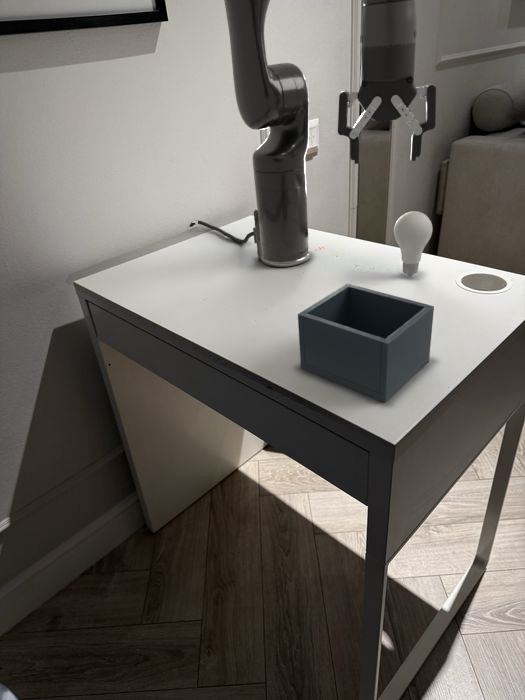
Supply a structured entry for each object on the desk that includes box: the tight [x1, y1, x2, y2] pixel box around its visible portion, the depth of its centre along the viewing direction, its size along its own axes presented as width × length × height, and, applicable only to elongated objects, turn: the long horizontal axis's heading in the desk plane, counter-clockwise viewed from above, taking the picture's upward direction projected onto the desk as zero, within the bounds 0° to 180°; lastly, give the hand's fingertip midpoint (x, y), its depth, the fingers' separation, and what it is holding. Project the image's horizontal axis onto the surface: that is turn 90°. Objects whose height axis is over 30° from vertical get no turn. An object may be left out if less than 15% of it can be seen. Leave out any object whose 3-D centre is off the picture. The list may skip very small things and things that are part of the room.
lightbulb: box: [393, 210, 433, 277], centre depth 86 cm, size 6×6×11 cm
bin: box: [297, 283, 435, 403], centre depth 65 cm, size 13×11×8 cm
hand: (384, 161), depth 81 cm, fingers open, 8 cm apart
